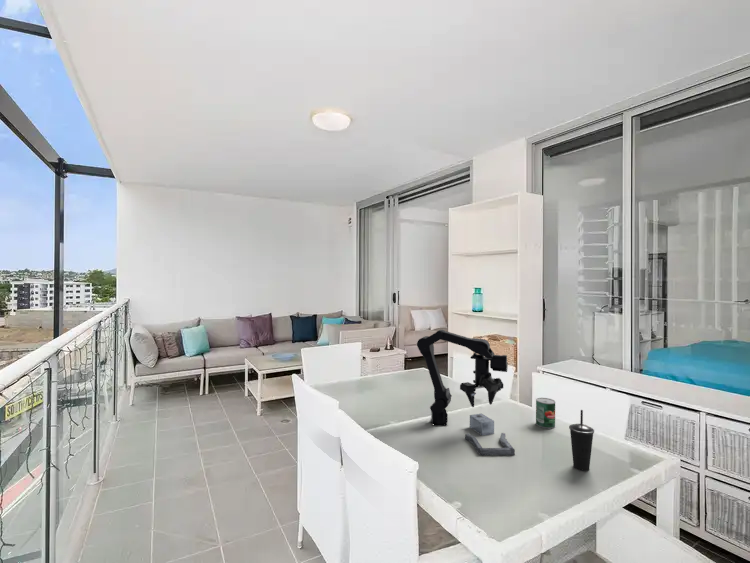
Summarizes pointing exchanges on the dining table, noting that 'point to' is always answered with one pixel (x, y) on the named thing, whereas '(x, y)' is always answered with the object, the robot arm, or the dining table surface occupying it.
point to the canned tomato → (545, 412)
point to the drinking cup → (581, 444)
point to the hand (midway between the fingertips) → (481, 405)
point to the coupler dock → (492, 451)
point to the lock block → (482, 424)
